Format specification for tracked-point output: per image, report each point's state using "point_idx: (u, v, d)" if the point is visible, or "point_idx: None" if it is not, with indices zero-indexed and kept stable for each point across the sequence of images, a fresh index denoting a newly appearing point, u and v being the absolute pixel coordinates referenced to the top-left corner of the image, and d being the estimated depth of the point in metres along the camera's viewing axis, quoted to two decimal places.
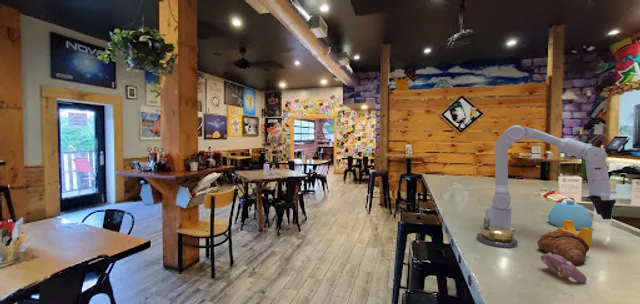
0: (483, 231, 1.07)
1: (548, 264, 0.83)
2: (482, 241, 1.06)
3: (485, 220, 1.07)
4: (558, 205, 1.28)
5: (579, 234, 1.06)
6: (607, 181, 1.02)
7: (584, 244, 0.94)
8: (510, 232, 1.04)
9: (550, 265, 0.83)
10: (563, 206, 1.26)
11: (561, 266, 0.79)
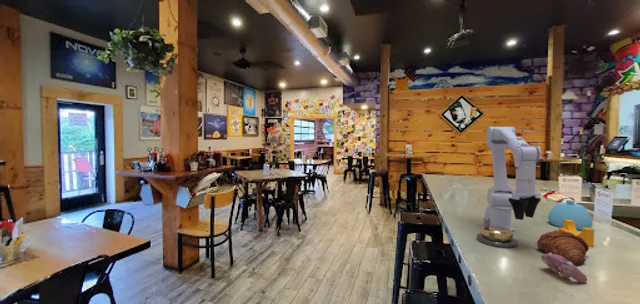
0: (483, 231, 1.07)
1: (549, 264, 0.83)
2: (482, 241, 1.06)
3: (485, 220, 1.07)
4: (558, 205, 1.28)
5: (581, 234, 1.06)
6: (529, 182, 1.00)
7: (584, 244, 0.94)
8: (510, 232, 1.04)
9: (551, 265, 0.83)
10: (563, 206, 1.26)
11: (562, 266, 0.79)
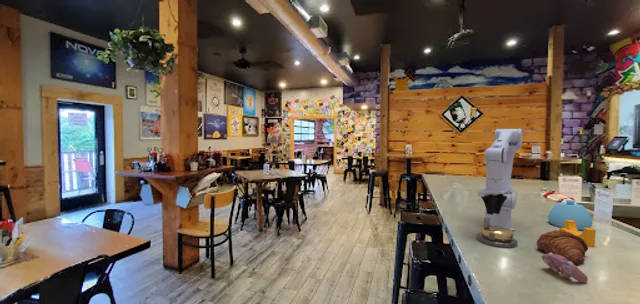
0: (483, 231, 1.07)
1: (549, 264, 0.83)
2: (482, 241, 1.06)
3: (485, 220, 1.07)
4: (558, 205, 1.28)
5: (582, 234, 1.06)
6: (495, 181, 1.08)
7: (583, 244, 0.94)
8: (510, 232, 1.04)
9: (551, 265, 0.83)
10: (563, 206, 1.26)
11: (562, 266, 0.79)
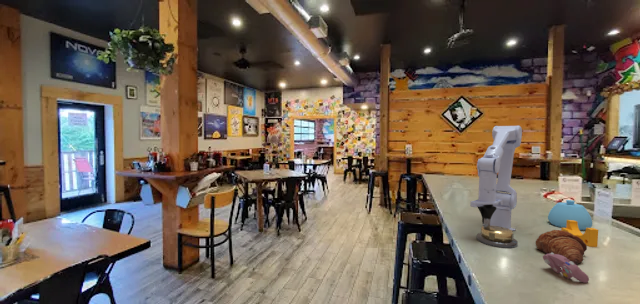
0: (483, 231, 1.07)
1: (550, 264, 0.84)
2: (482, 241, 1.06)
3: (485, 220, 1.07)
4: (558, 205, 1.28)
5: (585, 234, 1.05)
6: (488, 192, 1.07)
7: (582, 244, 0.95)
8: (510, 232, 1.04)
9: (552, 265, 0.83)
10: (563, 206, 1.26)
11: (563, 266, 0.79)
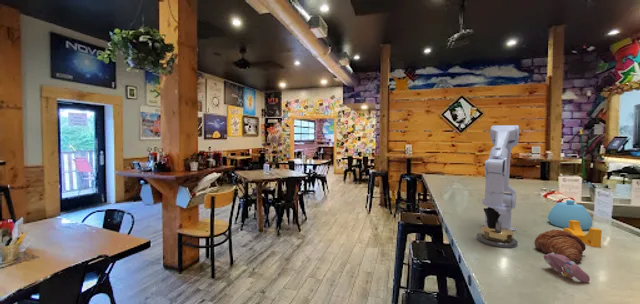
0: (499, 235, 1.03)
1: (551, 264, 0.84)
2: (482, 241, 1.06)
3: (500, 223, 1.03)
4: (558, 205, 1.28)
5: (588, 235, 1.05)
6: (502, 194, 1.02)
7: (581, 243, 0.95)
8: (505, 228, 1.09)
9: (553, 265, 0.83)
10: (563, 206, 1.26)
11: (564, 266, 0.79)
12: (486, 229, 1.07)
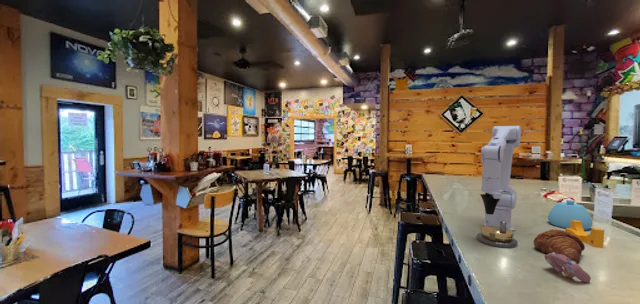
0: (505, 236, 1.02)
1: (552, 264, 0.84)
2: (482, 241, 1.06)
3: (505, 224, 1.03)
4: (558, 205, 1.28)
5: (590, 235, 1.05)
6: (499, 180, 1.04)
7: (580, 243, 0.95)
8: (500, 227, 1.10)
9: (554, 265, 0.83)
10: (563, 206, 1.26)
11: (565, 266, 0.79)
12: (489, 230, 1.06)
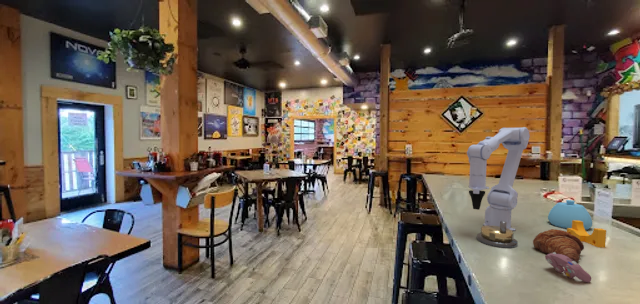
0: (505, 236, 1.02)
1: (553, 264, 0.84)
2: (482, 241, 1.06)
3: (505, 224, 1.03)
4: (558, 205, 1.28)
5: (592, 235, 1.05)
6: (483, 177, 1.11)
7: (579, 243, 0.95)
8: (500, 227, 1.10)
9: (555, 265, 0.83)
10: (563, 206, 1.26)
11: (566, 266, 0.79)
12: (489, 230, 1.06)
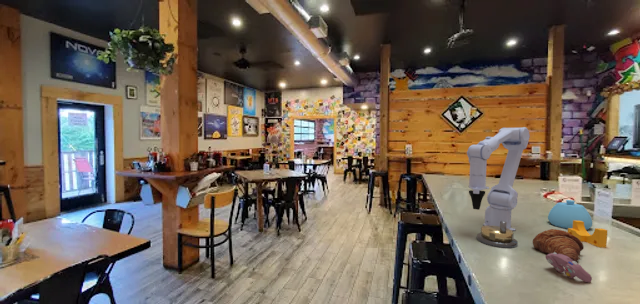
0: (505, 236, 1.02)
1: (553, 264, 0.84)
2: (482, 241, 1.06)
3: (505, 224, 1.03)
4: (558, 205, 1.28)
5: (593, 235, 1.05)
6: (483, 177, 1.11)
7: (578, 243, 0.95)
8: (500, 227, 1.10)
9: (555, 265, 0.83)
10: (563, 206, 1.26)
11: (566, 266, 0.79)
12: (489, 230, 1.06)
